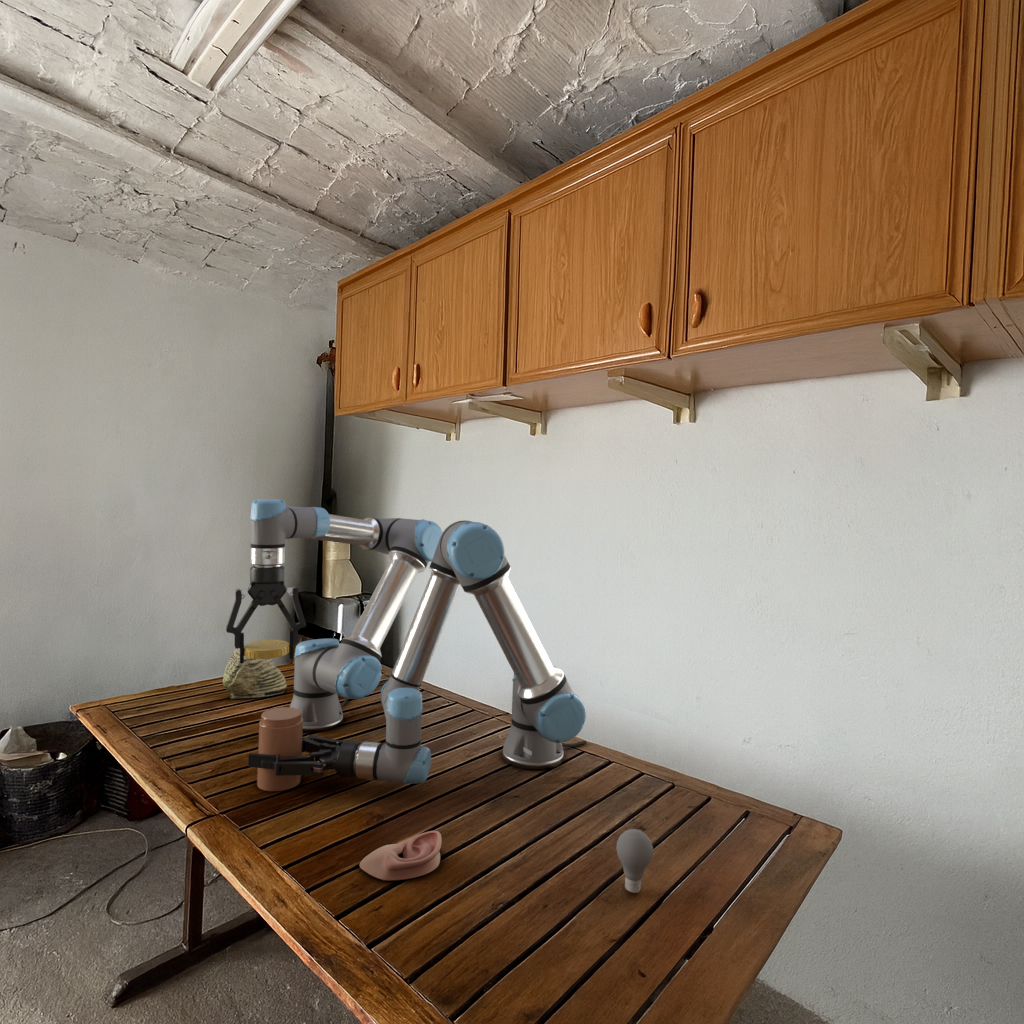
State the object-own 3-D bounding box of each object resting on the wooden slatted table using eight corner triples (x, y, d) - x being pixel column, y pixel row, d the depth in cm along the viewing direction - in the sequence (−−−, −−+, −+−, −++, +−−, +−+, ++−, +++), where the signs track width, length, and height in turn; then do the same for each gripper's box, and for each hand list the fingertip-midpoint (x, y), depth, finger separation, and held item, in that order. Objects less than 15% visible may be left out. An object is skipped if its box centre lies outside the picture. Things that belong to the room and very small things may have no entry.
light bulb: (610, 879, 108) (613, 822, 108) (644, 879, 109) (647, 822, 109) (619, 902, 102) (622, 840, 102) (655, 901, 103) (658, 840, 103)
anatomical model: (352, 851, 106) (379, 818, 118) (351, 875, 106) (379, 839, 118) (427, 864, 104) (448, 829, 115) (426, 888, 104) (447, 850, 115)
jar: (263, 772, 144) (266, 706, 144) (304, 772, 145) (307, 706, 144) (251, 791, 135) (253, 720, 134) (295, 791, 136) (298, 720, 135)
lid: (277, 660, 143) (277, 651, 143) (234, 657, 144) (234, 649, 144) (296, 648, 153) (297, 640, 153) (256, 646, 154) (256, 638, 154)
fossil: (218, 695, 195) (220, 647, 195) (278, 685, 208) (279, 640, 207) (228, 703, 189) (230, 653, 188) (289, 692, 201) (290, 645, 201)
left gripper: (214, 569, 139) (213, 668, 140) (320, 565, 149) (318, 659, 150) (213, 564, 146) (213, 660, 147) (315, 562, 156) (314, 651, 157)
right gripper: (339, 800, 127) (233, 789, 129) (374, 756, 149) (283, 748, 151) (340, 763, 127) (234, 753, 129) (375, 725, 149) (284, 717, 151)
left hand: (266, 659), depth 149 cm, fingers closed on lid, 10 cm apart
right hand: (260, 750), depth 140 cm, fingers closed on jar, 9 cm apart
